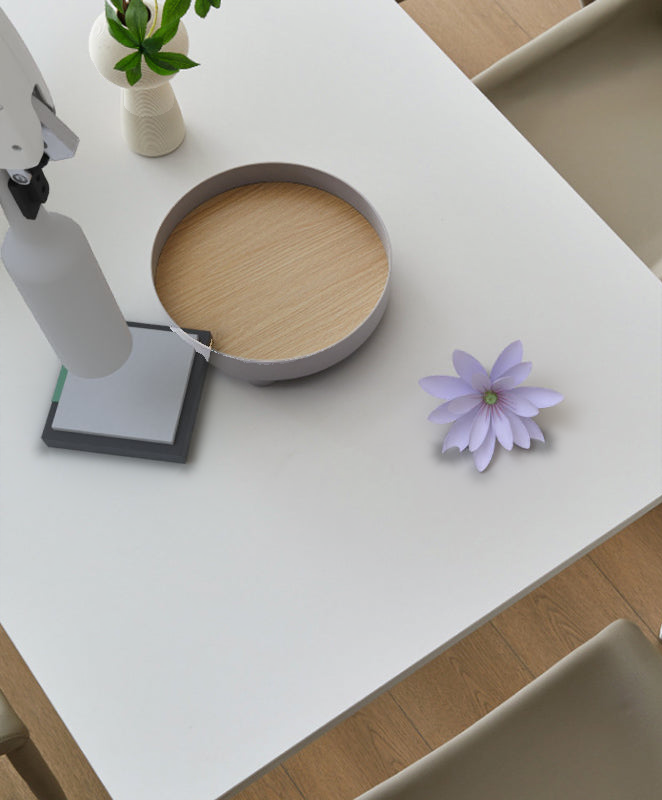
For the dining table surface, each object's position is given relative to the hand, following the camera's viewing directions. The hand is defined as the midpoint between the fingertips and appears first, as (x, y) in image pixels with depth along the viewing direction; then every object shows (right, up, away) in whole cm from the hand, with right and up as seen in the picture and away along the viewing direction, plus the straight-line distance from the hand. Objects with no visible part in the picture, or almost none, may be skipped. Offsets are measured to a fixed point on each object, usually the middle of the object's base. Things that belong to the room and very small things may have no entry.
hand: (13, 198), depth 71 cm
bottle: (0, -9, +21) cm, 23 cm away
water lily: (+35, -17, +33) cm, 51 cm away
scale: (-1, -13, +34) cm, 37 cm away
